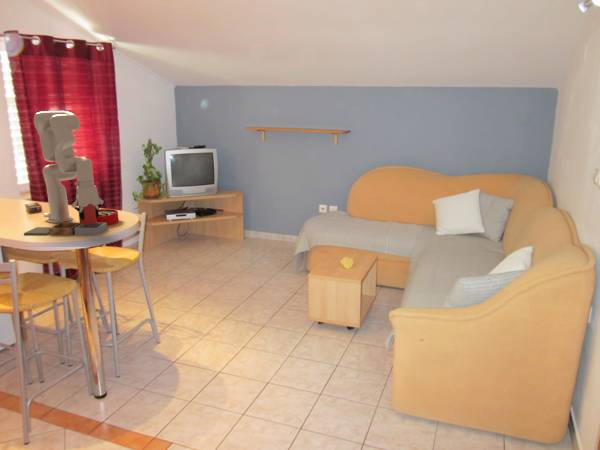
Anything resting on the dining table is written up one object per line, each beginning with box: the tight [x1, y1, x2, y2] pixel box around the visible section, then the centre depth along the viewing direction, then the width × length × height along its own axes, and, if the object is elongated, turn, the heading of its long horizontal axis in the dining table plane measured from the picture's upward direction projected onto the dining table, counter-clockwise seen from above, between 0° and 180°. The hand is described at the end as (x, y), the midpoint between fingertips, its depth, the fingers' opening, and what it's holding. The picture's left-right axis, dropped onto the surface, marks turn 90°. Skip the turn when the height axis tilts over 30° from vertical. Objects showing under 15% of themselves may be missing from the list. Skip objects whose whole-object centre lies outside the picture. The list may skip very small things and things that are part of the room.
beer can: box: [82, 204, 97, 225], centre depth 260 cm, size 7×7×12 cm
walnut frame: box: [49, 222, 82, 236], centre depth 262 cm, size 12×12×4 cm
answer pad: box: [23, 226, 52, 236], centre depth 263 cm, size 12×12×1 cm
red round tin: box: [78, 208, 120, 227], centre depth 280 cm, size 20×6×20 cm
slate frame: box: [74, 223, 108, 236], centre depth 262 cm, size 12×12×4 cm
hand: (89, 217), depth 261 cm, fingers closed on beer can, 6 cm apart
